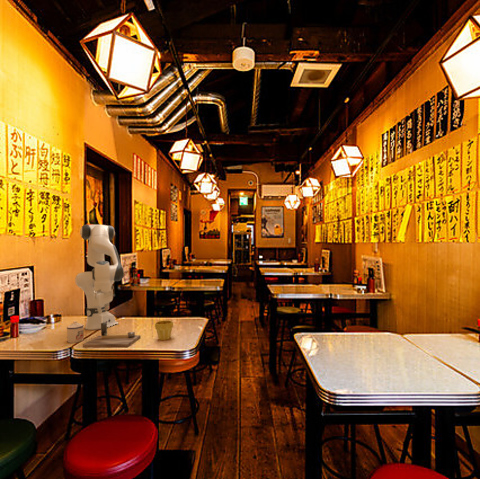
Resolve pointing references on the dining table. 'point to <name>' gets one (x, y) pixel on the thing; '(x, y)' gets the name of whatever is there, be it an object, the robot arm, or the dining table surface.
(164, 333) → the plant pot
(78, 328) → the teacup with lid
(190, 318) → the dining table surface
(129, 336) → the lever
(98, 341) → the lever board
